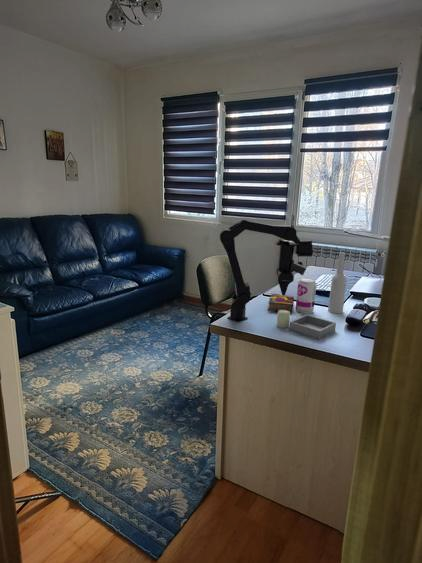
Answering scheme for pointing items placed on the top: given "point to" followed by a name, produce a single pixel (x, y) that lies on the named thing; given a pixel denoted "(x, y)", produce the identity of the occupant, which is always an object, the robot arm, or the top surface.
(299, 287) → the supplement can
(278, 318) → the cream yellow cylinder
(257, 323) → the top surface
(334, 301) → the bottle
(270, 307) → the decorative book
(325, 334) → the bin
